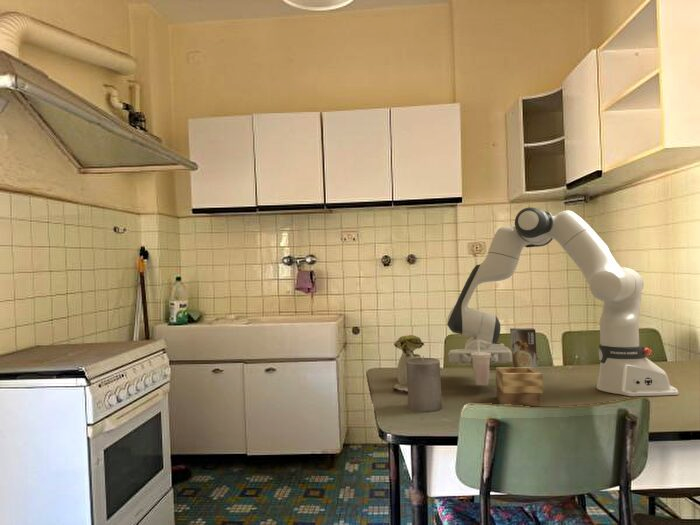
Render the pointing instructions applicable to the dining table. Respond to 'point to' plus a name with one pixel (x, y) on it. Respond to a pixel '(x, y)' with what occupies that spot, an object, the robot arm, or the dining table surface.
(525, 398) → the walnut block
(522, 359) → the coffee box
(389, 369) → the dining table surface
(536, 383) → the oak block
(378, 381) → the dining table surface
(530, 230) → the robot arm
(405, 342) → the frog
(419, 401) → the pillar candle
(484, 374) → the smoothie
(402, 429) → the dining table surface
